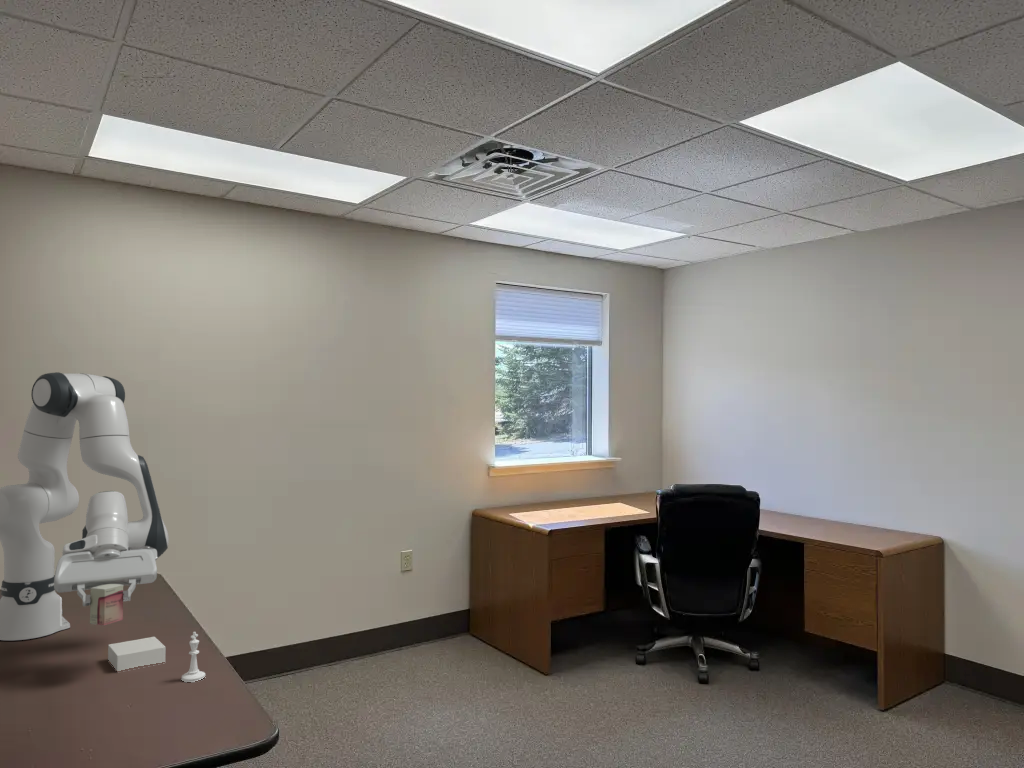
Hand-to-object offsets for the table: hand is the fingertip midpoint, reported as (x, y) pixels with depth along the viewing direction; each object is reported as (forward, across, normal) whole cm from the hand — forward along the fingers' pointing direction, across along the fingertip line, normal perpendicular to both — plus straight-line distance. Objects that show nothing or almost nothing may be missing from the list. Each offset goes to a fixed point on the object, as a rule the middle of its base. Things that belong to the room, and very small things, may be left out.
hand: (106, 602), depth 161 cm
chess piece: (+18, -17, -6) cm, 25 cm away
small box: (+3, 0, -4) cm, 5 cm away
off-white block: (+6, -6, -18) cm, 20 cm away
